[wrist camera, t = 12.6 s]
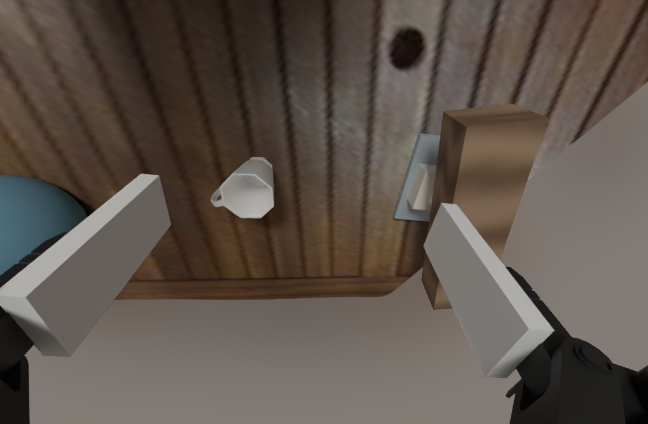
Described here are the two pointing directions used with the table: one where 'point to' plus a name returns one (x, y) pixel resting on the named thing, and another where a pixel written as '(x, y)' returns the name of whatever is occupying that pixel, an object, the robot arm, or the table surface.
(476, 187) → the beam
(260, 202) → the cup
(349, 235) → the table surface
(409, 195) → the fulcrum
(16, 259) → the vase
